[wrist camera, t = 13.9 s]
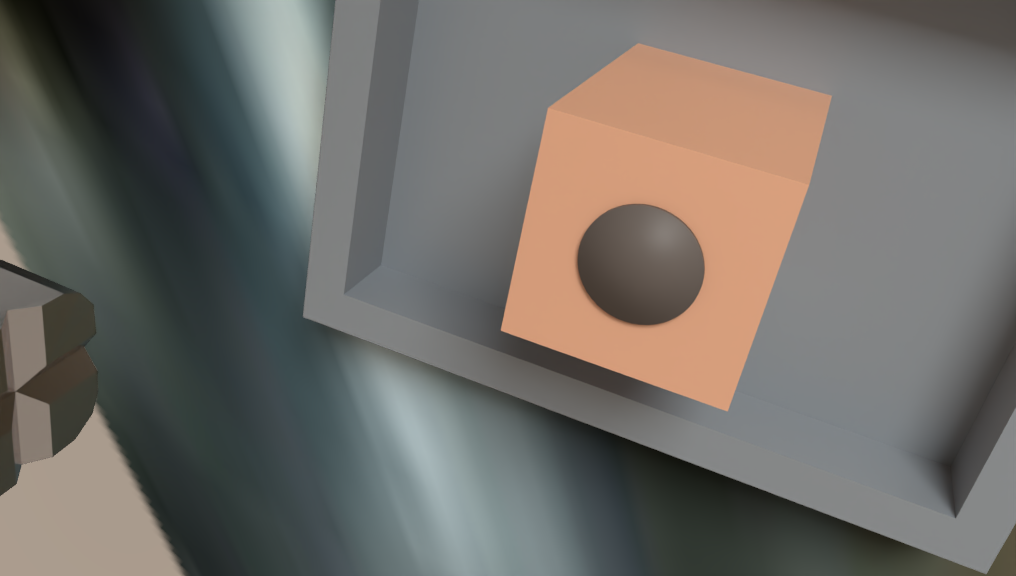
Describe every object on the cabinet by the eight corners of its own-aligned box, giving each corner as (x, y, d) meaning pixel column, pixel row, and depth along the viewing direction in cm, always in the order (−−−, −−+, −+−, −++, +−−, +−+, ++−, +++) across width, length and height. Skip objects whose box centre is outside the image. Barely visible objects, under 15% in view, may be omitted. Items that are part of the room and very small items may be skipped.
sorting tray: (418, -229, 20) (359, -240, 17) (1273, -41, 16) (1333, -25, 14) (353, 278, 25) (303, 316, 23) (977, 503, 22) (986, 574, 19)
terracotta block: (638, 43, 20) (546, 109, 14) (831, 96, 19) (809, 186, 13) (594, 218, 21) (498, 333, 16) (768, 273, 21) (726, 414, 15)
